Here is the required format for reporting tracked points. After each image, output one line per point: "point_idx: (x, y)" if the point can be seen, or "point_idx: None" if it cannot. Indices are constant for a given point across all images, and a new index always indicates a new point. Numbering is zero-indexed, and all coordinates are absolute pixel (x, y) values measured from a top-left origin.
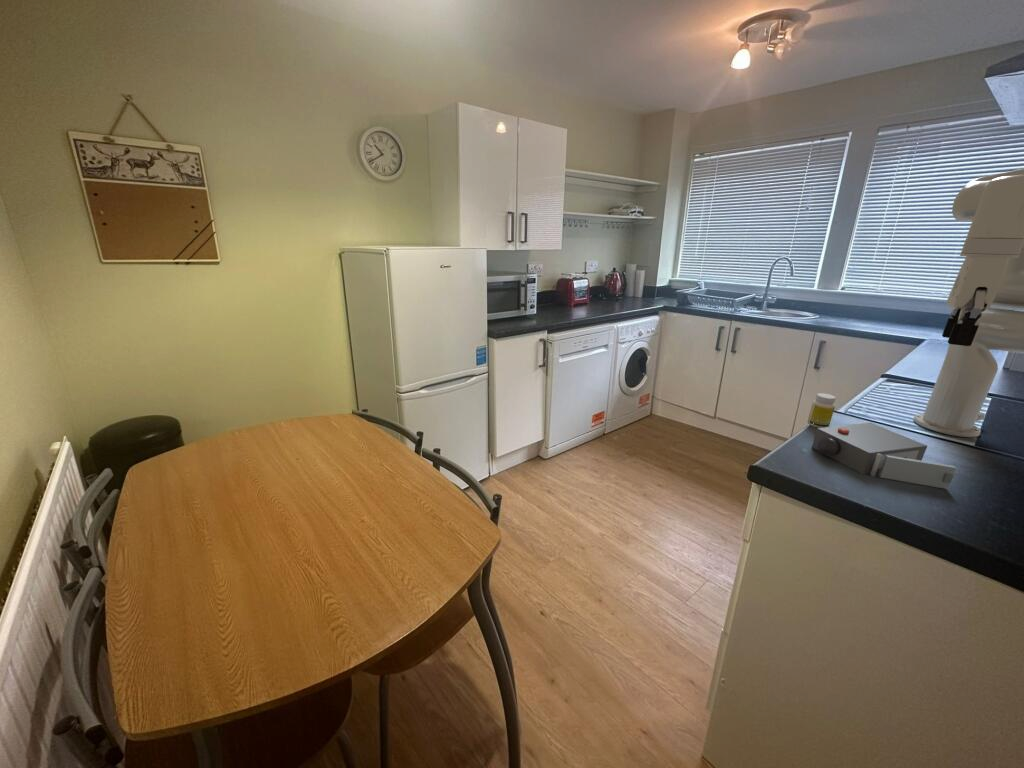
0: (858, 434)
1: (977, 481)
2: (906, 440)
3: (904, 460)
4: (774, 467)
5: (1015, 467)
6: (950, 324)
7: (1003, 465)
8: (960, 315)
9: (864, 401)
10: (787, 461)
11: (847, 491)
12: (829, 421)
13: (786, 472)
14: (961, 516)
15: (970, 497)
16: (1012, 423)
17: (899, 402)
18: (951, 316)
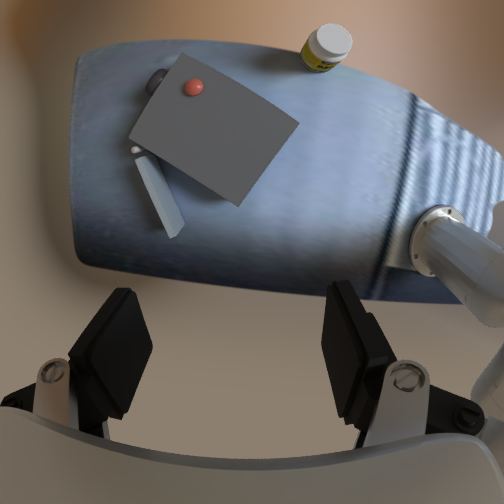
0: (204, 109)
1: (242, 257)
2: (238, 178)
3: (143, 180)
4: (87, 60)
5: None
6: (348, 342)
7: None
8: (36, 398)
9: (484, 149)
10: (114, 60)
11: (84, 136)
12: (314, 67)
13: (83, 74)
14: (119, 235)
15: (178, 246)
16: None
17: (498, 197)
18: (386, 375)
